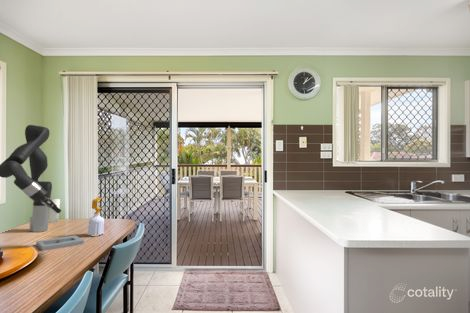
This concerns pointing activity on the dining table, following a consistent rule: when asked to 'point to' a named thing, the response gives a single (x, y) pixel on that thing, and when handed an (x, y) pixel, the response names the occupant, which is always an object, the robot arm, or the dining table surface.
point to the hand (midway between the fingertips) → (58, 211)
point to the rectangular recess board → (59, 242)
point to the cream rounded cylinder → (54, 215)
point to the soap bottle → (96, 220)
